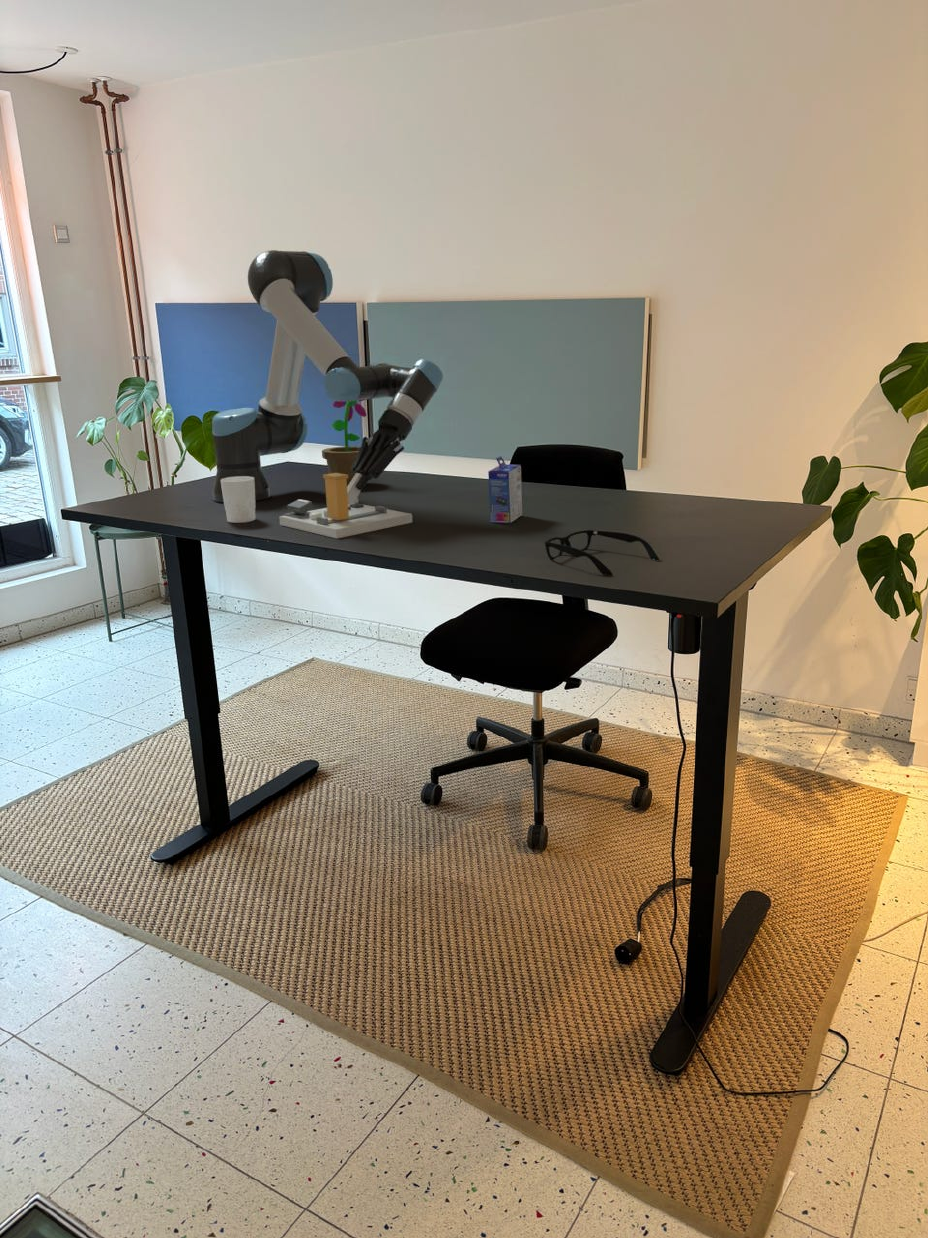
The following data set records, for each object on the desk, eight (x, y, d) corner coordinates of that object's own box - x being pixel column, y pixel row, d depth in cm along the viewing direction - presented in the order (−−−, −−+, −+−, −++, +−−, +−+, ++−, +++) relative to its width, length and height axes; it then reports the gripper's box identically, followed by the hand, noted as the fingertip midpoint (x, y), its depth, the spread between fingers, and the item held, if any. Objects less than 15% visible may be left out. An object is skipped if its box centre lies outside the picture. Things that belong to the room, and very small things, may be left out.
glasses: (590, 551, 189) (589, 527, 188) (662, 561, 177) (662, 536, 175) (535, 566, 178) (535, 541, 177) (608, 578, 166) (607, 551, 164)
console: (279, 524, 215) (277, 506, 214) (353, 510, 230) (352, 493, 228) (336, 538, 200) (335, 519, 199) (412, 522, 215) (411, 504, 213)
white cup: (264, 518, 223) (261, 477, 220) (244, 524, 216) (240, 482, 213) (238, 515, 226) (234, 475, 223) (217, 522, 220) (213, 480, 216)
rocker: (288, 510, 215) (286, 504, 215) (300, 504, 217) (298, 498, 217) (301, 513, 212) (299, 507, 211) (313, 507, 214) (311, 501, 213)
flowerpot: (382, 482, 270) (377, 377, 261) (357, 490, 258) (351, 380, 248) (340, 479, 276) (334, 376, 267) (314, 487, 263) (307, 379, 254)
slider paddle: (325, 517, 208) (322, 474, 205) (338, 515, 211) (335, 472, 208) (337, 520, 205) (335, 476, 202) (350, 517, 208) (348, 474, 204)
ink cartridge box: (500, 514, 222) (500, 454, 217) (522, 515, 220) (522, 454, 215) (488, 522, 213) (487, 459, 208) (511, 523, 211) (510, 460, 206)
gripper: (427, 430, 212) (375, 512, 207) (390, 427, 221) (339, 505, 216) (408, 408, 207) (354, 492, 201) (372, 406, 216) (319, 486, 210)
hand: (347, 499), depth 208 cm, fingers closed
